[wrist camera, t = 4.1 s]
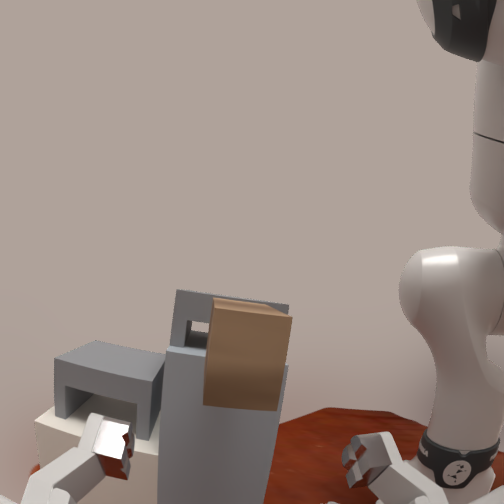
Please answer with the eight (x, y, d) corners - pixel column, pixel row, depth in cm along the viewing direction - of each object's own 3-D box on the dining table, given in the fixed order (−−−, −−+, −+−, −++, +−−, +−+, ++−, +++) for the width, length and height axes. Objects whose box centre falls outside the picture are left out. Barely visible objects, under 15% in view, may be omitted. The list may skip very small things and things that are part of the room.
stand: (241, 588, 16) (296, 306, 20) (63, 556, 14) (39, 264, 18) (230, 525, 28) (264, 300, 32) (91, 502, 26) (94, 274, 30)
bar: (276, 411, 12) (292, 317, 12) (202, 405, 11) (214, 307, 12) (238, 336, 28) (244, 294, 29) (205, 332, 28) (211, 289, 28)
